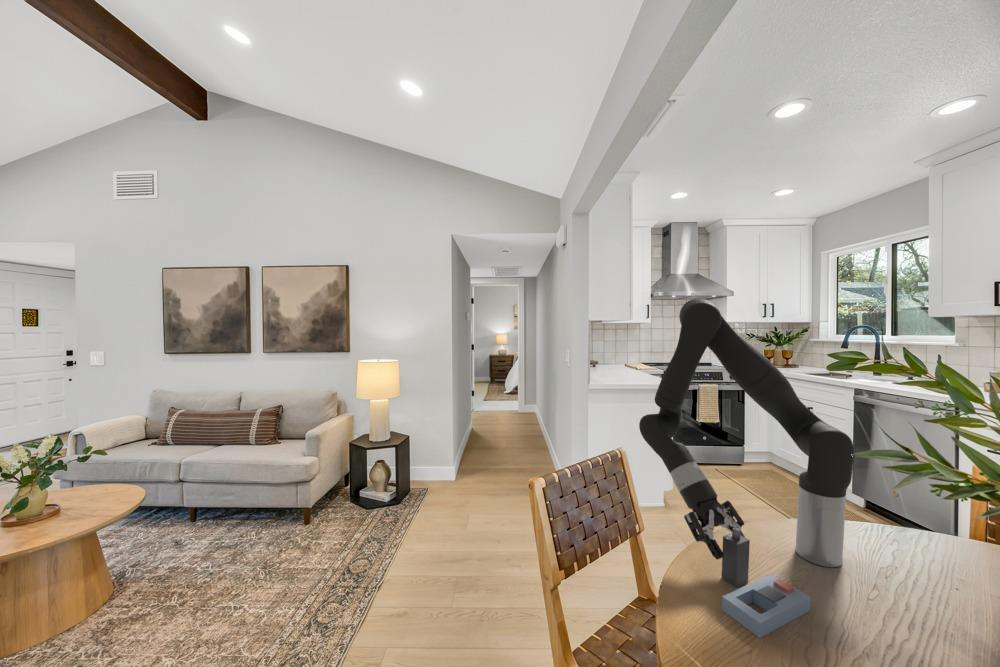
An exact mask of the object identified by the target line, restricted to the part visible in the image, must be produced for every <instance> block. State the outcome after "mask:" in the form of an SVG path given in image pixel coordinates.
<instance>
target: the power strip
mask: <svg viewBox="0 0 1000 667" xmlns="http://www.w3.org/2000/svg"><path fill="white" fill-rule="evenodd" d="M811 598H812V597H811V596H810V595H808V594H806V593H805V592H803V591H801V590H799V589H798V588H797V587H794V586H792V585H791V584H789V583H787V582H785V581H784V580H782V579H781V578H779V577H778V576H775V575H774V574H772V573H771V574H768V575H766V576H764V577H761V578H759V579H757V580H755V581H753V582H750V583H748V584H746V585H744V586H742V587H739V588H737V589H736V590H733V591H731V592H728V593H726V594H724V595H722V596H721V611H722V612H724V613H725V614H726V615H728V616H729V617H730V618H732V619H733V620H734V621H736V622H737V623H738V624H740V625H741V626H743V627H744V628H745V629H747V630H748V631H749V632H751V633H752V634H754V635H755V637H758V638H759V639H761V638H763V637H765V636H766V635H769V634H770V633H772V632H774V631H775V630H777V629H779V628H781V627H783V626H785V625H787V624H788V623H790V622H792V621H794V620H797V618H799V617H801V616H803V615H805V614H806V613H809V612H810V611H811V600H812V599H811ZM751 604H755V605H756V606H758V607H759V608H760V609H762V610H763V611H764V612H763V613H760V612H758V611H756V610H755V609H753V608H752V607H751V606H749V605H751Z"/></svg>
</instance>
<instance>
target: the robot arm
mask: <svg viewBox="0 0 1000 667" xmlns="http://www.w3.org/2000/svg"><path fill="white" fill-rule="evenodd" d="M679 323H680V325H681V326H680V331H679V336H678V341H677V346H676V348H675V351H674V353H673V356H672V357H671V360H670V361H669V363H668V365H667V367H666V368H665V371H664V373H663V374H662V377H661V380H660V382H659V385H658V388H657V389H656V393H655V397H654V403H655V405H656V406H657V407H659V412H658V413H649V414H645V415H643V416H642V417H641V418H640V420H639V424H638V425H639V428H638V429H639V431H640V432H639V433H640V434H641V437H642V438H643V440H644V441H645V442H646V443H647V445H649V446H650V448H651V449H652V450H653V451H654V452H655V453H656V454H657V456H658V457H660V458H661V460H662V462H663V463H664V465H665V467H666V470H667V471H668V473H669V474H670V477H671V479H672V481H673V483H674V485H675V487H676V488H677V490H678V492H679V494H680V496H681V497H682V499H683V501H684V503H685V504H686V506H687V508H688V509H689V510H692V511H689V512H688V513H687V514H685V515H684V516H683V518H684V520H685V522H686V524H687V525H688V526H687V527H688V528H689V530H690V532H691V533H692V536H693V538H694V540H695V541H696V542H703V543H705V544H706V547H707V548H708V550H709V551H710V554H711V556H713V558H714V559H716V560H717V561H718V560H720V559H722V558H723V557H724V554H723V549H721V547H720V545H719V544H718V542H717V540H716V539H715V538H714V530H715V528H717V527H722V529H723V528H724V529H726V530H727V531H729V532H731V533H732V529H733V528H738V529H740V530H741V529H742V527H743V526H744V525H745V522H744V520H743V519H742V517H741V516H740V515H739V512H738V511H737V510H736V508H735V507H734V506H733V504H732V503H731V502H730V500H726V501H724V502H722V503H720V501H718V494H717V492H716V490H715V489H714V488H713V486H712V485H711V482H710V481H709V480H708V477H707V476H706V475H705V472H704V471H703V470H702V469H701V467H700V465H699V464H697V462H696V460H695V458H694V457H693V455H692V453H691V452H690V451H689V449H688V448H687V446H686V445H685V444H683V443H682V442H678V441H676V440H674V439H672V438H673V437H675V436H676V434H677V433H678V431H679V428H680V424H681V416H682V407H683V404H684V401H685V400H686V396H687V394H688V391H689V389H690V386H691V383H692V381H693V379H694V376H695V373H696V370H697V367H698V366H699V363H700V361H701V359H702V357H703V356H704V353H705V351H706V350H707V348H708V349H709V350H710V351H711V352H713V354H714V355H715V356H716V357H717V359H718V361H719V362H720V364H721V365H722V366H723V368H724V369H725V371H726V372H727V373H728V374H729V375H730V377H731V378H732V380H733V381H734V382H735V383H736V384H737V385H738V386H739V387H740V388H741V389H742V390H743V392H744V393H746V394H747V395H748V396H749V398H751V399H752V401H754V402H755V403H756V404H757V405H758V406H760V407H761V409H763V410H764V411H765V412H766V413H768V414H769V415H770V416H771V417H772V418H774V420H776V421H777V423H779V424H780V425H781V427H782V428H783V429H784V430H785V432H786V434H788V435H789V436H790V439H792V441H793V443H794V444H795V445H796V446H797V447H798V448H799V450H801V452H803V454H805V455H806V456H808V460H807V468H806V471H802V472H801V473H800V474H799V477H798V478H799V479H798V492H797V493H798V494H797V496H798V497H797V498H798V499H797V513H796V514H797V515H796V516H797V517H796V518H797V519H796V520H797V521H796V532H795V533H796V535H795V551H796V553H797V554H798V556H800V558H802V559H804V560H806V561H807V562H810V563H812V564H815V565H817V566H822V567H826V568H837V567H841V566H842V564H843V556H844V540H845V538H844V537H845V521H846V505H847V504H846V501H847V489H848V487H849V486H850V484H851V482H852V478H853V477H852V476H853V469H854V462H855V461H854V459H855V456H854V457H852V456H851V454H853V453H854V454H855V448H854V444H853V440H852V439H851V437H850V436H849V435H848V434H847V433H845V432H843V431H841V430H840V429H838V428H836V427H834V426H832V425H831V424H828V423H827V422H825V421H824V420H822V419H821V418H820V417H819V416H817V415H816V414H815V413H814V412H812V411H811V410H810V409H809V408H808V407H807V406H806V405H805V404H804V403H803V402H802V401H801V399H800V398H799V397H798V396H797V393H796V391H795V389H794V388H793V386H792V384H791V383H790V381H789V380H788V379H787V377H786V376H785V375H784V374H783V373H782V371H780V370H779V369H778V368H777V367H776V366H775V365H774V364H773V363H772V362H771V361H770V360H769V359H768V358H767V357H766V356H765V355H764V354H762V353H761V352H760V351H759V349H757V348H755V347H754V346H753V345H752V344H751V343H750V342H748V341H747V340H745V339H744V338H743V337H742V336H740V335H739V334H738V333H737V332H736V331H735V330H734V328H732V327H731V325H730V324H729V323H728V321H727V320H726V319H725V318H724V317H723V316H722V314H721V312H720V310H719V308H718V307H717V306H716V305H715V304H714V303H713V302H712V301H709V300H707V299H705V298H693V299H690V300H688V301H687V302H685V303H684V304H683V305H682V306H681V309H680V311H679ZM740 535H741V536H743V537H745V538H746V536H745V534H744V533H743V531H742V530H741V534H740Z"/></svg>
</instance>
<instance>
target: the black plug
mask: <svg viewBox="0 0 1000 667" xmlns="http://www.w3.org/2000/svg"><path fill="white" fill-rule="evenodd" d="M741 531H742V530H740V529H738V528H733V529H732V532H731V533H728V534H725V535H723V536H722V552H723V554H724V557H723V558H721V579H723V580H724V581H726V582H727V583H728V584H730V585H732V586H733V587H735V588H738V587H739V588H740V586H743V585H745V584H747V583H749V569H750V567H749V564H750V544H751V542H750V540H751V539H749V538H747V537H746V536H745V537H743V536H741V535H740V534H741Z"/></svg>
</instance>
